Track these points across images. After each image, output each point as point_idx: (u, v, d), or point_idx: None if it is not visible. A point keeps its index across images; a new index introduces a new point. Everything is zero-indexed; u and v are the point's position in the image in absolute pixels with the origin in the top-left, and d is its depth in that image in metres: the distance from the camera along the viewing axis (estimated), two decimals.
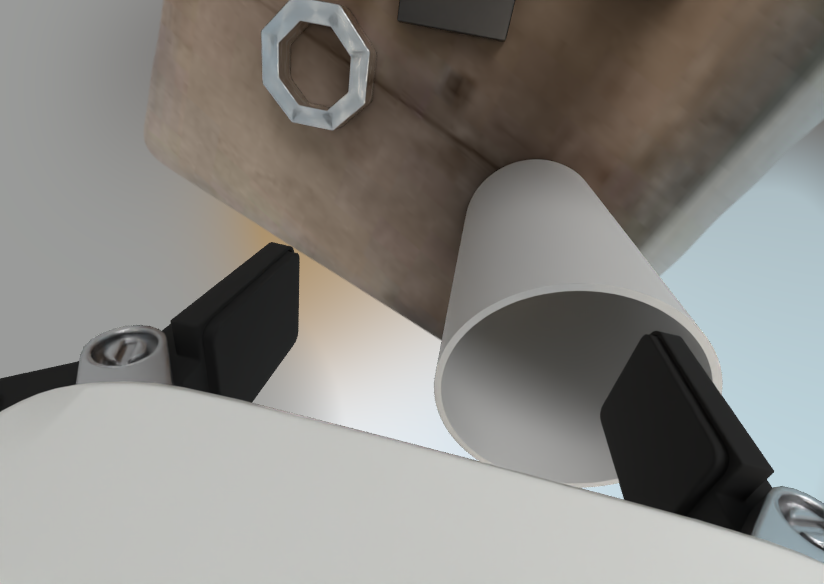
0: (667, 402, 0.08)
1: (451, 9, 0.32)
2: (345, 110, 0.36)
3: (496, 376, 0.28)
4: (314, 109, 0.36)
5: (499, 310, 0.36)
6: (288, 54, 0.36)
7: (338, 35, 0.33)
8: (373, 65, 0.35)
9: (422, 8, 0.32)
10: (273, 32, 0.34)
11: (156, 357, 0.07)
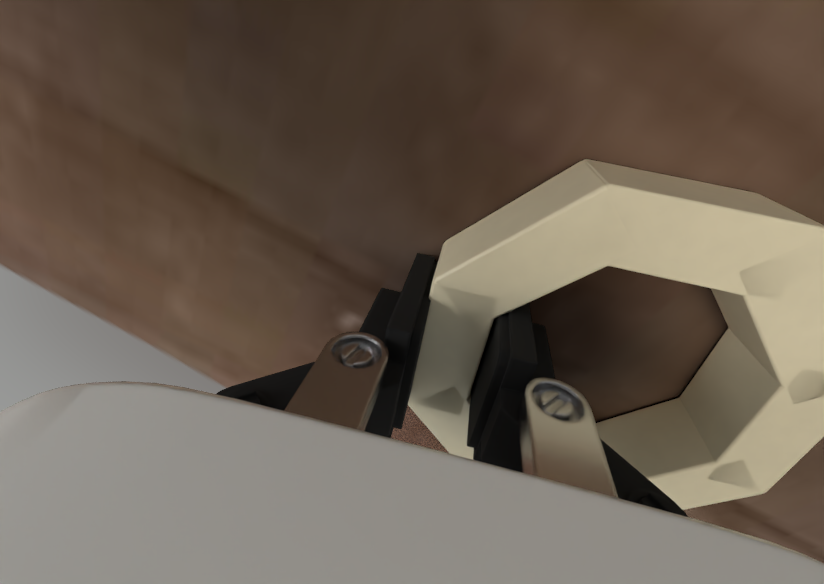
0: (494, 326, 0.10)
1: None
2: None
3: None
4: None
5: None
6: None
7: None
8: None
9: None
10: None
11: (386, 361, 0.07)
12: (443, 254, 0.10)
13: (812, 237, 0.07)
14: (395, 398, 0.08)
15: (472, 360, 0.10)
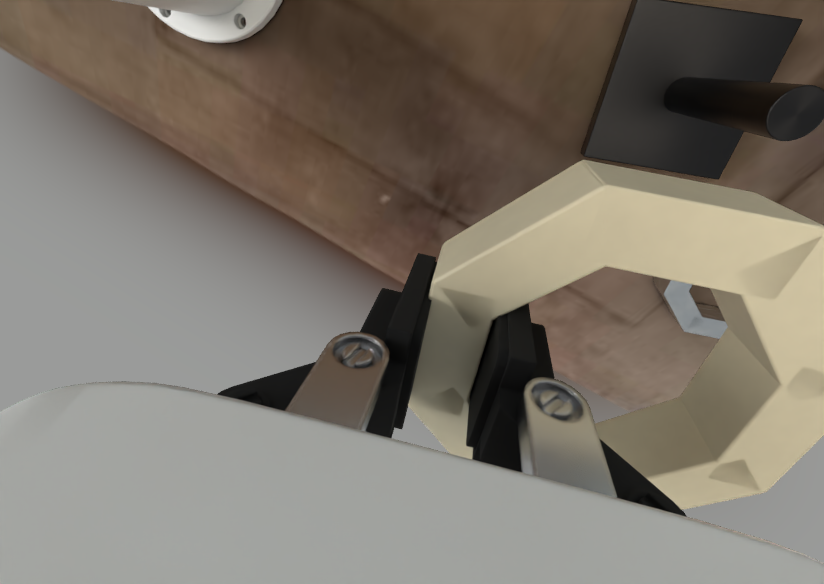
0: (493, 326, 0.10)
1: None
2: None
3: None
4: None
5: None
6: (701, 305, 0.32)
7: None
8: None
9: (717, 146, 0.26)
10: (690, 320, 0.31)
11: (387, 361, 0.07)
12: (442, 256, 0.10)
13: (809, 236, 0.07)
14: (396, 398, 0.08)
15: (472, 361, 0.10)
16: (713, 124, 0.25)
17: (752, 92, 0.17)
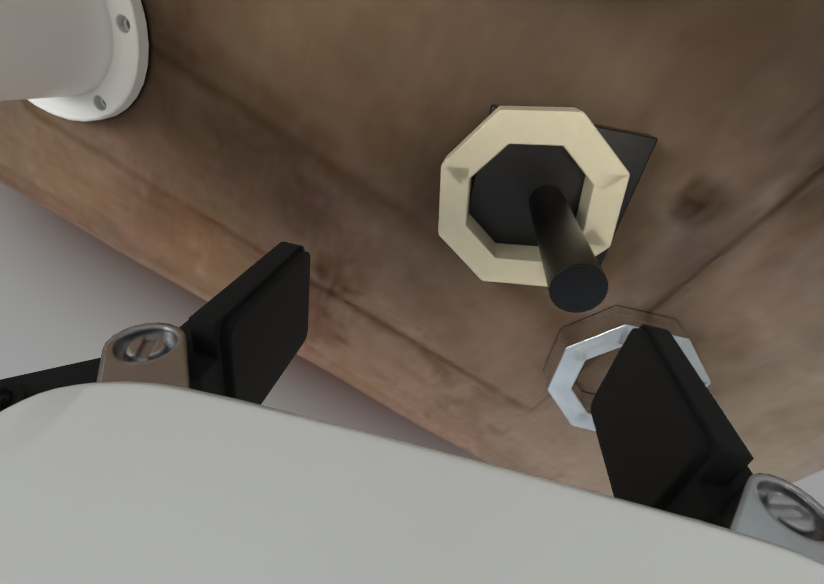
0: (653, 393, 0.08)
1: None
2: None
3: None
4: None
5: None
6: (593, 397, 0.31)
7: (597, 354, 0.27)
8: (634, 314, 0.27)
9: None
10: (576, 415, 0.30)
11: (176, 354, 0.07)
12: (445, 158, 0.23)
13: (578, 116, 0.19)
14: None
15: (464, 201, 0.22)
16: None
17: (552, 249, 0.16)
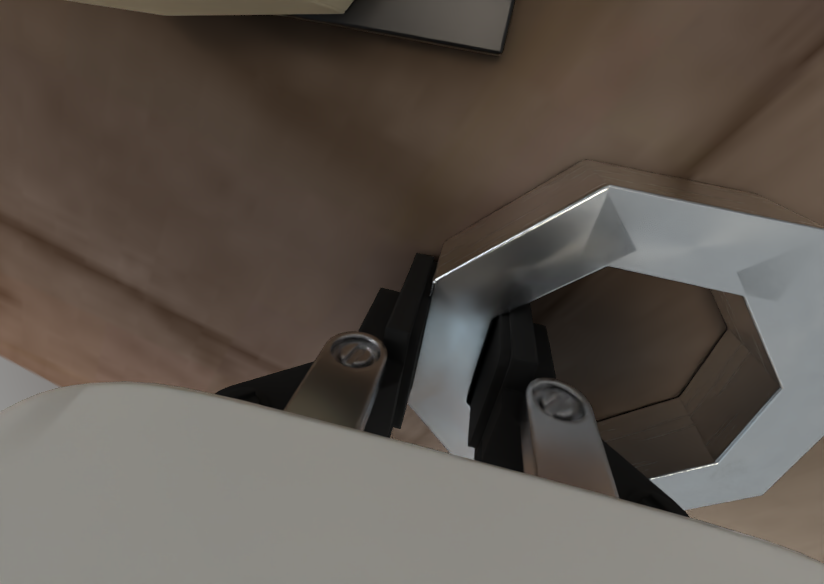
0: (495, 326, 0.10)
1: None
2: (819, 321, 0.08)
3: None
4: (752, 425, 0.09)
5: None
6: None
7: (524, 299, 0.09)
8: (636, 175, 0.09)
9: None
10: None
11: (385, 360, 0.07)
12: None
13: None
14: (394, 398, 0.08)
15: None
16: None
17: None
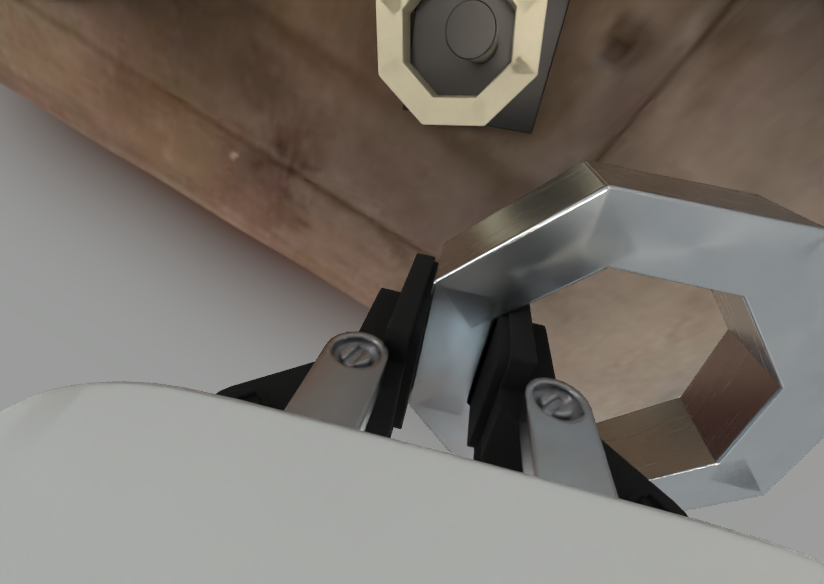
0: (494, 326, 0.10)
1: None
2: (820, 321, 0.08)
3: None
4: (752, 425, 0.09)
5: None
6: None
7: (525, 300, 0.09)
8: (635, 175, 0.09)
9: (523, 98, 0.26)
10: None
11: (386, 360, 0.07)
12: None
13: None
14: (395, 398, 0.08)
15: (399, 35, 0.24)
16: None
17: None
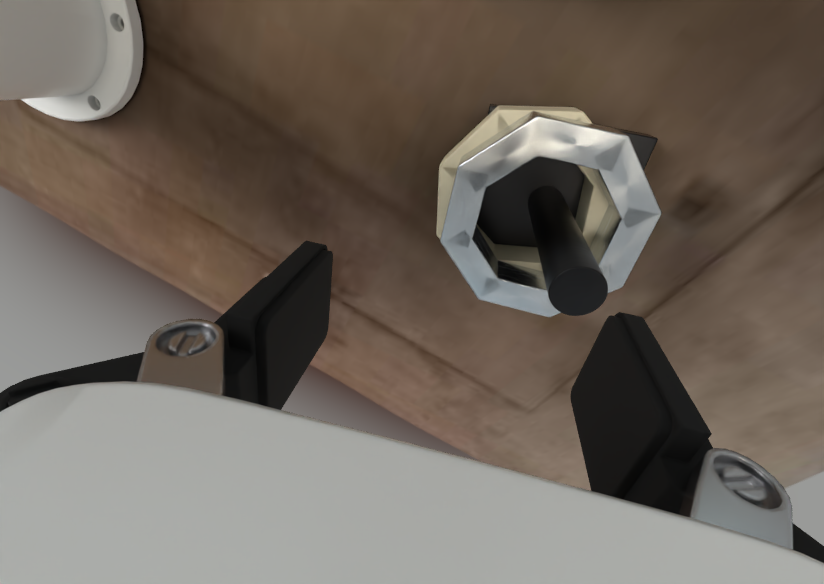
0: (624, 377, 0.09)
1: None
2: (631, 181, 0.18)
3: None
4: (611, 242, 0.19)
5: None
6: (510, 266, 0.23)
7: (501, 175, 0.19)
8: (554, 116, 0.19)
9: None
10: (482, 282, 0.22)
11: (216, 349, 0.07)
12: None
13: (577, 116, 0.19)
14: (237, 389, 0.08)
15: None
16: None
17: (551, 251, 0.16)
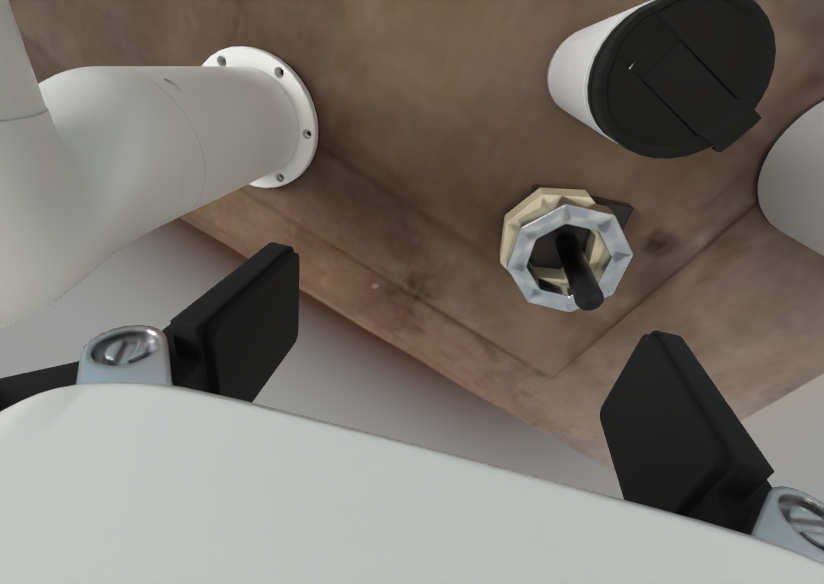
0: (667, 402, 0.08)
1: None
2: (616, 237, 0.33)
3: None
4: (606, 269, 0.34)
5: None
6: (545, 281, 0.38)
7: (545, 233, 0.34)
8: (574, 201, 0.34)
9: None
10: (530, 291, 0.37)
11: (156, 357, 0.07)
12: (506, 217, 0.37)
13: (587, 199, 0.34)
14: None
15: None
16: None
17: (575, 277, 0.31)
